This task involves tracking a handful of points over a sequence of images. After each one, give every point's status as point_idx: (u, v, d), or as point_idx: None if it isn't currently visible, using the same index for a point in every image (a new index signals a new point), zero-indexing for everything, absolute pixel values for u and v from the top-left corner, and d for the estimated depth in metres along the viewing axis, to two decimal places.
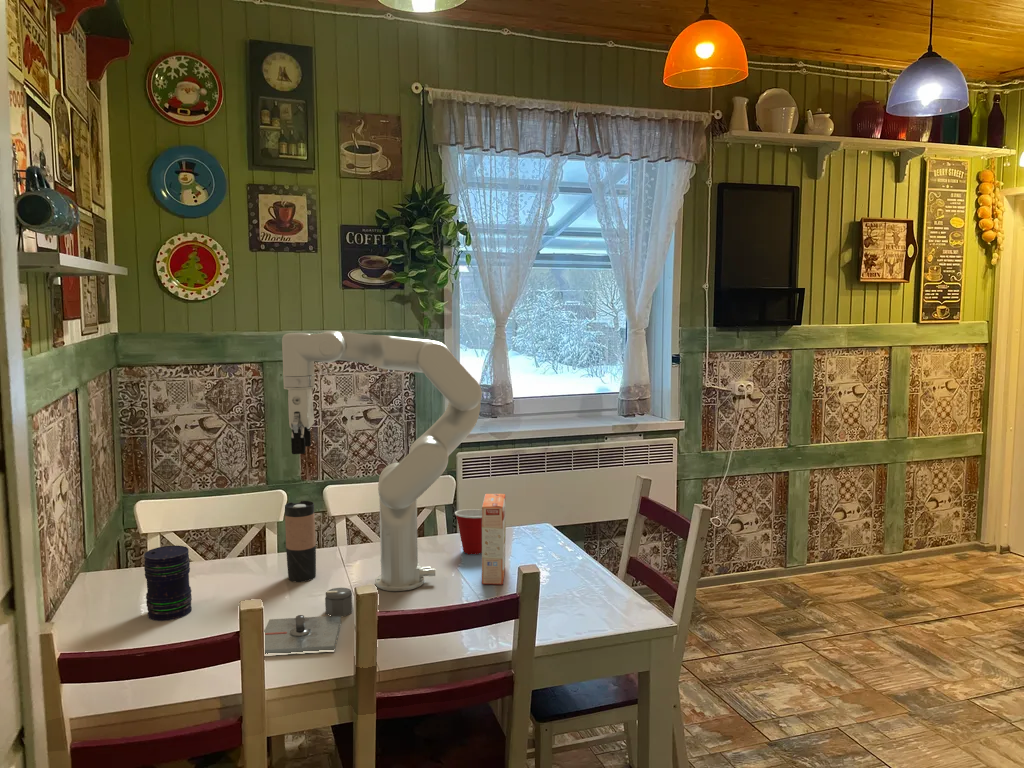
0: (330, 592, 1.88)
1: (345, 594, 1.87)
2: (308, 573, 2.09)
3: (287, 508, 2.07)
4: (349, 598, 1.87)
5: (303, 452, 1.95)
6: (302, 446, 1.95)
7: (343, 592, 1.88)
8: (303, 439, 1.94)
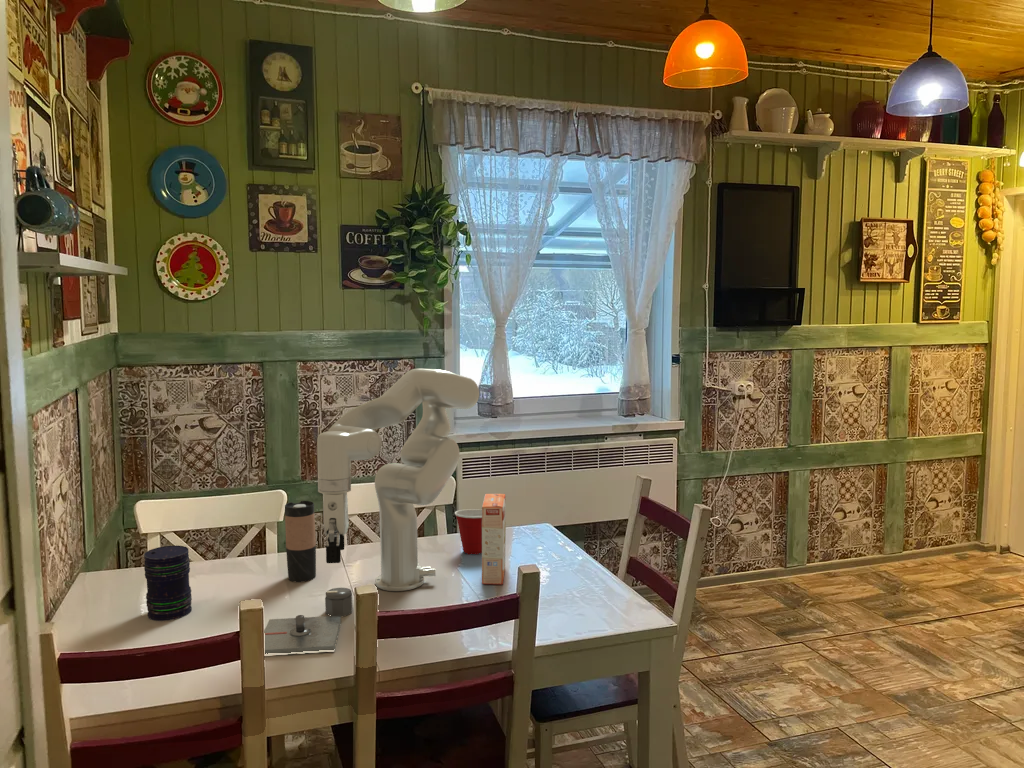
0: (330, 592, 1.88)
1: (345, 594, 1.87)
2: (308, 573, 2.09)
3: (287, 508, 2.07)
4: (349, 598, 1.87)
5: (338, 561, 1.82)
6: (337, 555, 1.82)
7: (343, 592, 1.88)
8: (339, 547, 1.81)
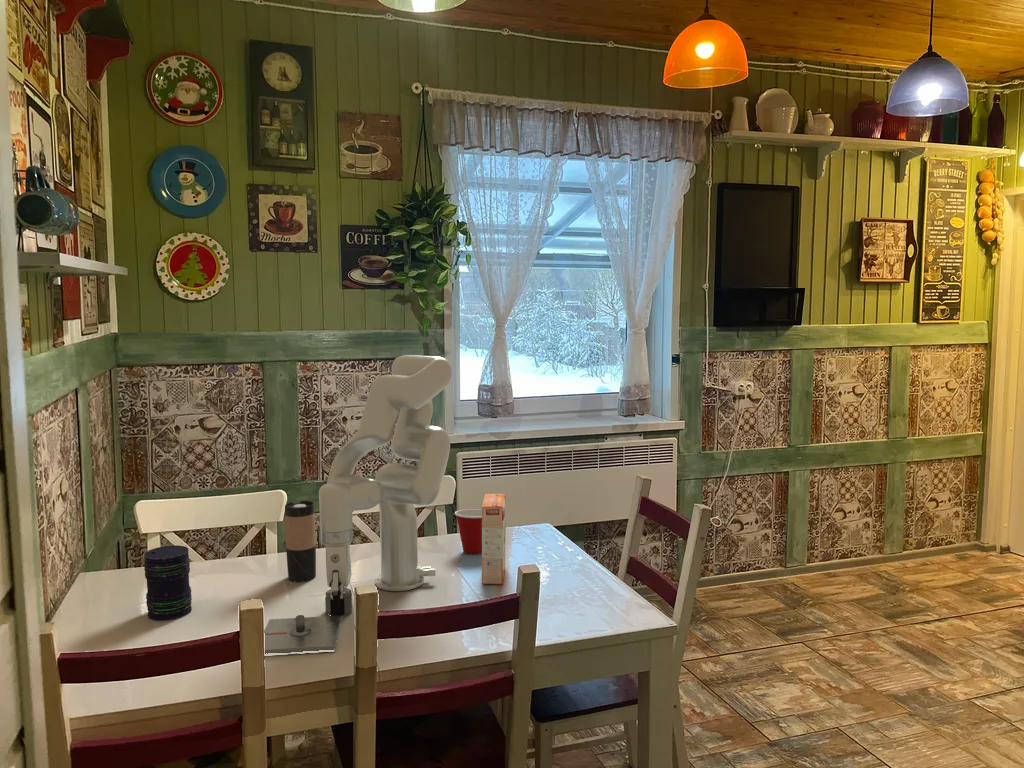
0: (330, 592, 1.88)
1: (345, 594, 1.87)
2: (308, 573, 2.09)
3: (287, 508, 2.07)
4: (349, 598, 1.87)
5: (342, 613, 1.85)
6: (341, 607, 1.85)
7: (343, 592, 1.88)
8: (343, 600, 1.85)
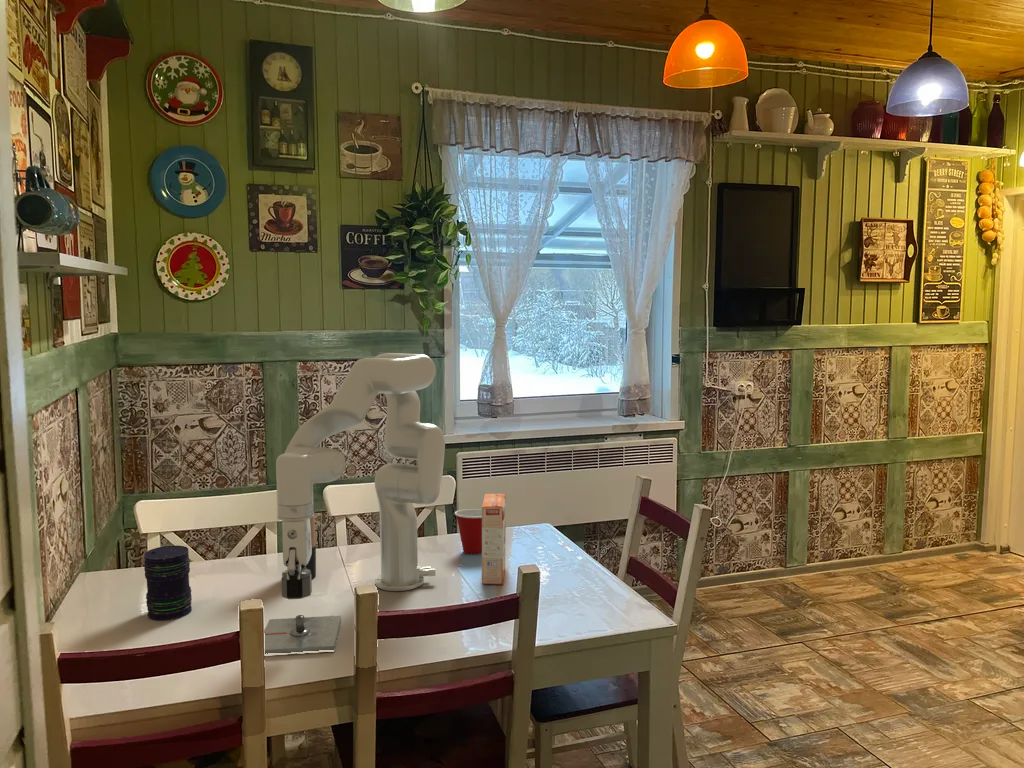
0: None
1: (303, 574, 1.71)
2: None
3: None
4: (308, 579, 1.71)
5: (300, 595, 1.69)
6: (299, 589, 1.69)
7: (301, 572, 1.72)
8: (300, 581, 1.69)
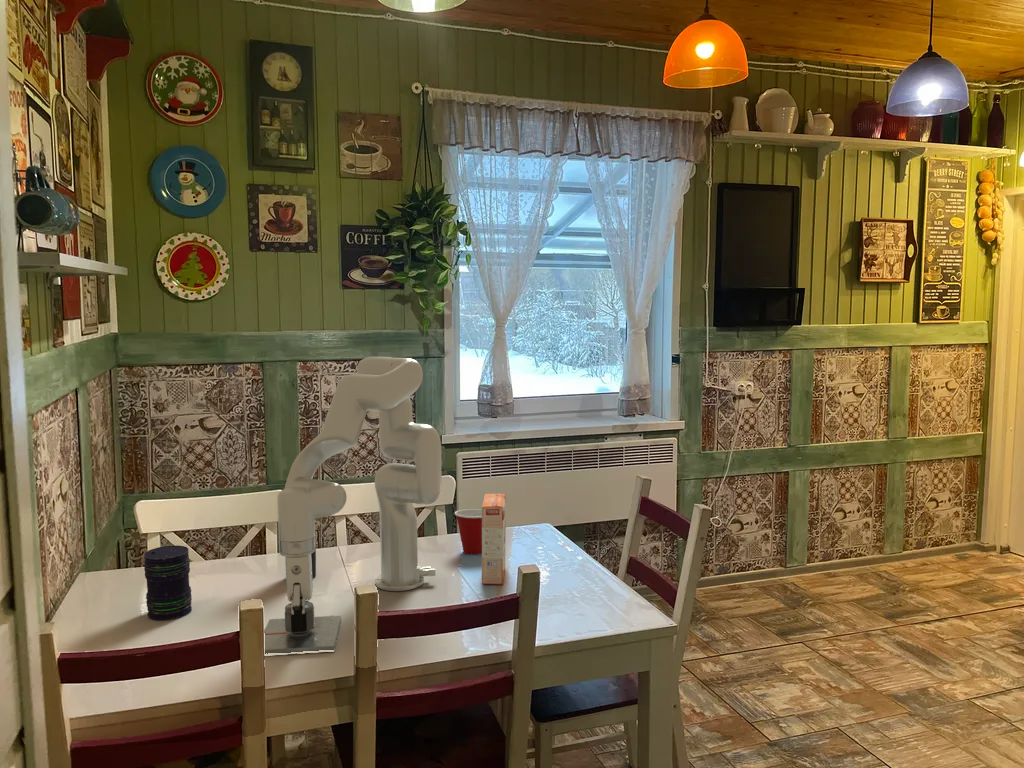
0: (290, 606, 1.73)
1: (307, 608, 1.72)
2: None
3: None
4: (311, 612, 1.72)
5: (305, 629, 1.70)
6: (303, 623, 1.70)
7: None
8: (304, 615, 1.70)
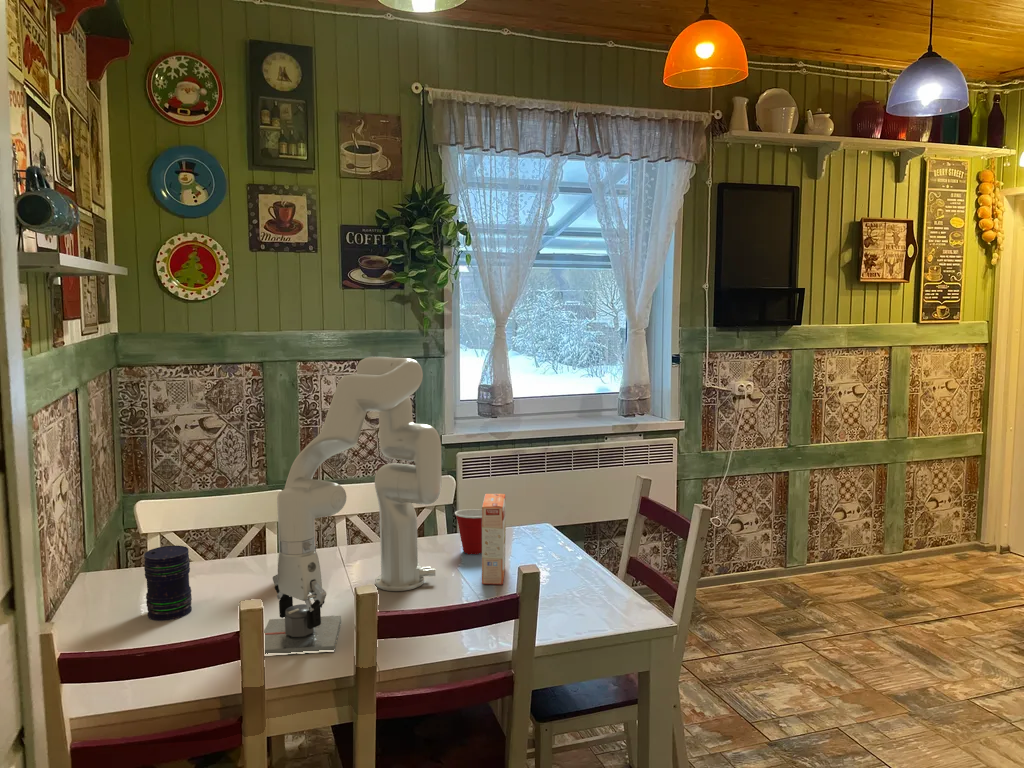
0: (293, 611, 1.72)
1: None
2: None
3: None
4: None
5: (319, 623, 1.71)
6: None
7: (304, 608, 1.74)
8: (319, 609, 1.71)
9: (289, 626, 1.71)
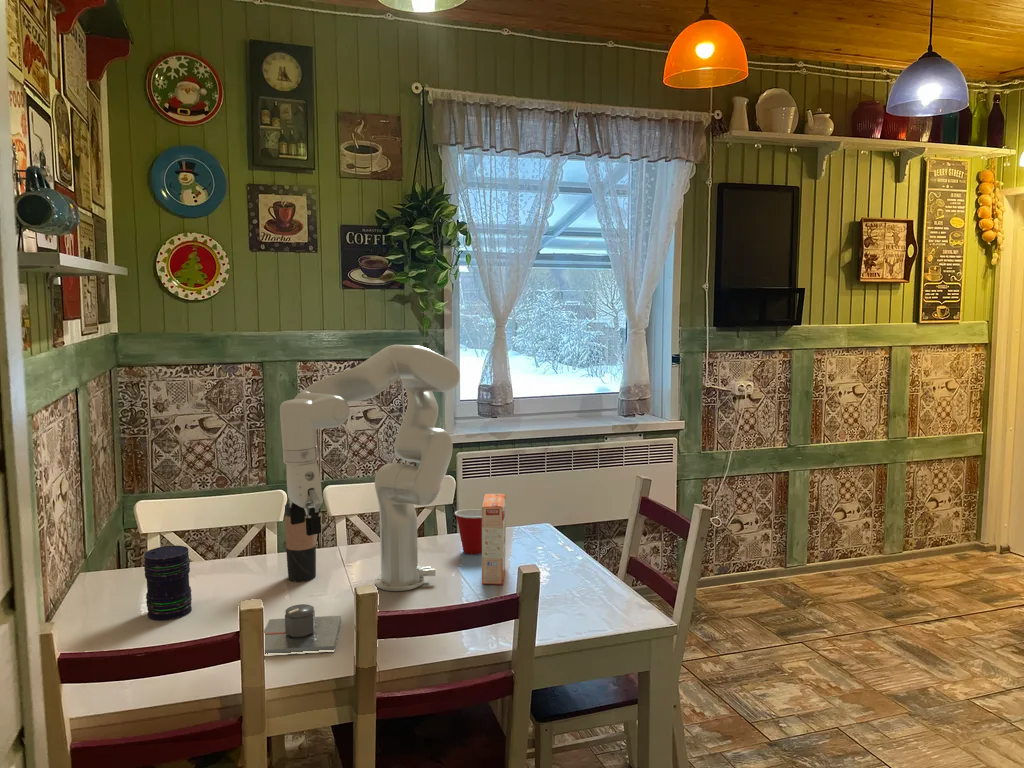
0: (293, 611, 1.72)
1: (310, 608, 1.74)
2: (308, 573, 2.09)
3: (287, 508, 2.07)
4: (314, 612, 1.75)
5: (319, 531, 1.76)
6: (318, 525, 1.76)
7: (304, 608, 1.74)
8: (319, 517, 1.75)
9: (289, 626, 1.71)
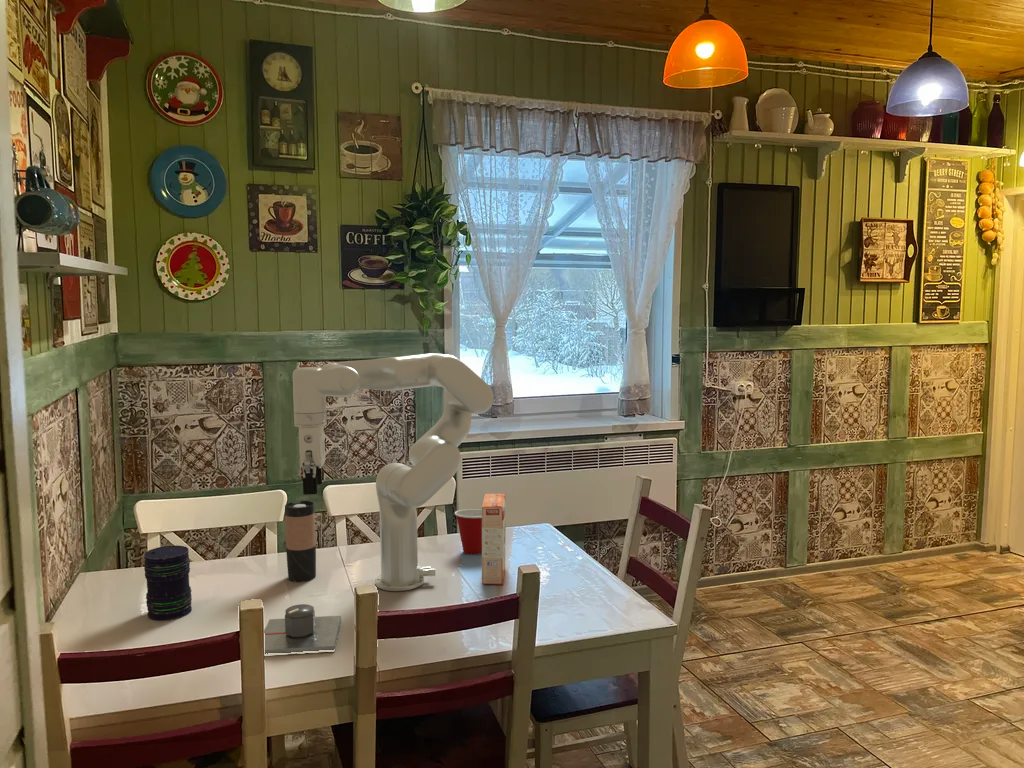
0: (293, 611, 1.72)
1: (310, 608, 1.74)
2: (308, 573, 2.09)
3: (287, 508, 2.07)
4: (314, 612, 1.75)
5: (315, 492, 1.87)
6: (314, 486, 1.87)
7: (304, 608, 1.74)
8: (315, 479, 1.86)
9: (289, 626, 1.71)
